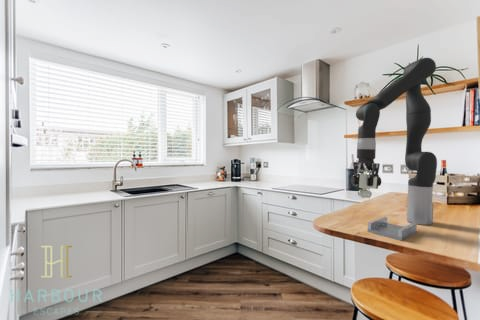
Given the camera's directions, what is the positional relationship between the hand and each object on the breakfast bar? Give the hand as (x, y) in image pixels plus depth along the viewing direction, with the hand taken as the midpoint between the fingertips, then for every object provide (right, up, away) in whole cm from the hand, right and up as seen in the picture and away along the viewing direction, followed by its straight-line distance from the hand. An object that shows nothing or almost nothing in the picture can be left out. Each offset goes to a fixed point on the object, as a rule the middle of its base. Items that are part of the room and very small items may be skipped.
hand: (364, 185), depth 109 cm
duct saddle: (+4, -18, -12) cm, 22 cm away
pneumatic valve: (0, -6, +1) cm, 6 cm away
